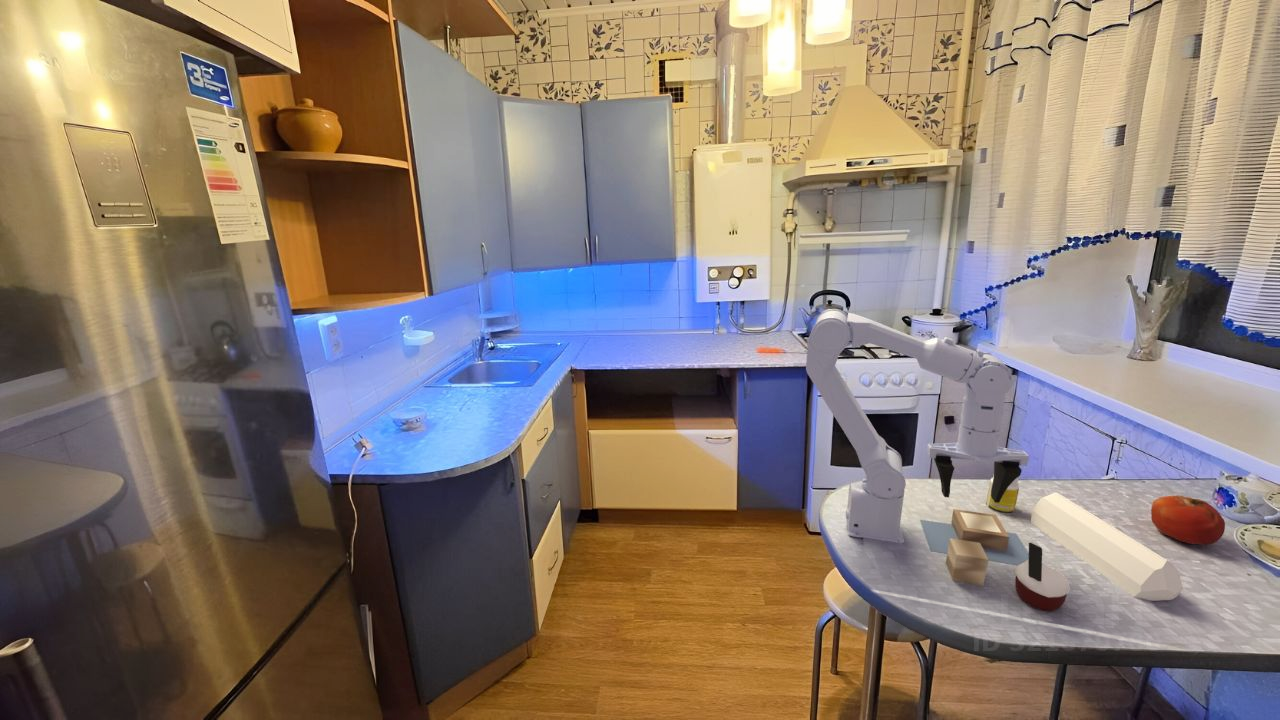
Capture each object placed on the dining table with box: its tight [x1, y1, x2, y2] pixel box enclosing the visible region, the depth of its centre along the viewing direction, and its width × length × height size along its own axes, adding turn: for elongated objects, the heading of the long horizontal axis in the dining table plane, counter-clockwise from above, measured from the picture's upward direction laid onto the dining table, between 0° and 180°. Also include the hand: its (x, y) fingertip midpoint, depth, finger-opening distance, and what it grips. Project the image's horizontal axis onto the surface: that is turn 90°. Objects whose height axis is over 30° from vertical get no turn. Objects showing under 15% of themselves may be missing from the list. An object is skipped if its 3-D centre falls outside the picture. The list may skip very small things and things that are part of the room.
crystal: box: [1030, 491, 1184, 602], centre depth 86 cm, size 7×7×24 cm
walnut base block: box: [950, 508, 1009, 551], centre depth 91 cm, size 7×7×3 cm
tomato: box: [1150, 494, 1226, 546], centre depth 90 cm, size 9×9×8 cm
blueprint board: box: [919, 519, 1029, 566], centre depth 90 cm, size 16×10×1 cm, turn 71°
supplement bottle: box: [985, 473, 1020, 516], centre depth 99 cm, size 5×5×8 cm
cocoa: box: [1014, 542, 1071, 612], centre depth 75 cm, size 10×6×12 cm, turn 97°
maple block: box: [945, 538, 989, 587], centre depth 82 cm, size 4×4×6 cm
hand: (969, 496), depth 87 cm, fingers open, 7 cm apart
